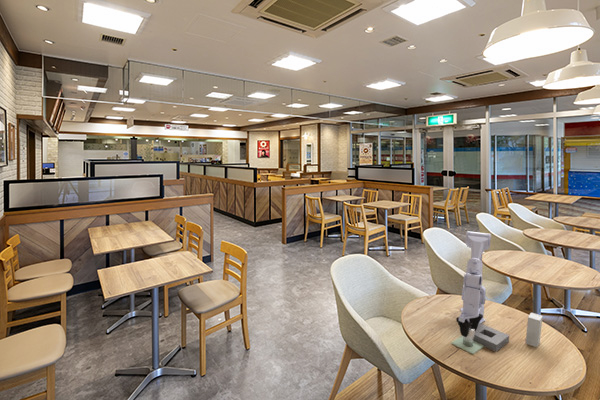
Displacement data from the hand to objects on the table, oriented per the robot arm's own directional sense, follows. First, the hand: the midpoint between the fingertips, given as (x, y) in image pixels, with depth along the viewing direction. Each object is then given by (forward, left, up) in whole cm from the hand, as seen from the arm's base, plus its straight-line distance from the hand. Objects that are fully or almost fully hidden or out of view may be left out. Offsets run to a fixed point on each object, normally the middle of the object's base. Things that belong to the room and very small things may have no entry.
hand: (468, 332), depth 130 cm
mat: (0, 0, -6) cm, 6 cm away
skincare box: (-24, +15, -6) cm, 29 cm away
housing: (-11, +3, -6) cm, 13 cm away
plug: (0, 0, -5) cm, 5 cm away
